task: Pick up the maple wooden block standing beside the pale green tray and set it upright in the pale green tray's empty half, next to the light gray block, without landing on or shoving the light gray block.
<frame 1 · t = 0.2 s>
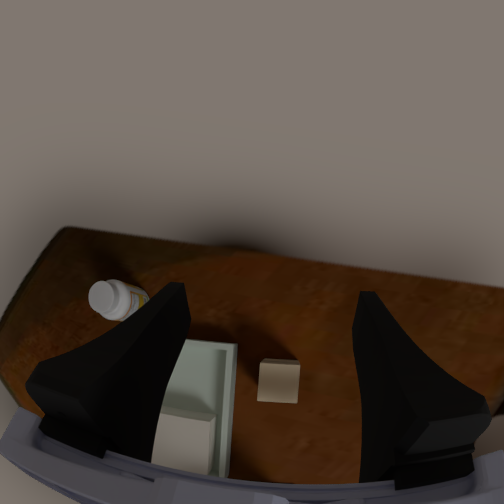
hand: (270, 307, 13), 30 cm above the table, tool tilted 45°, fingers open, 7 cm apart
light gray block: (181, 434, 39), point 1 cm above the table, touching pale green tray
supplement bottle: (135, 305, 45), on the table
maple block: (280, 375, 40), on the table
pale green tray: (184, 406, 41), on the table
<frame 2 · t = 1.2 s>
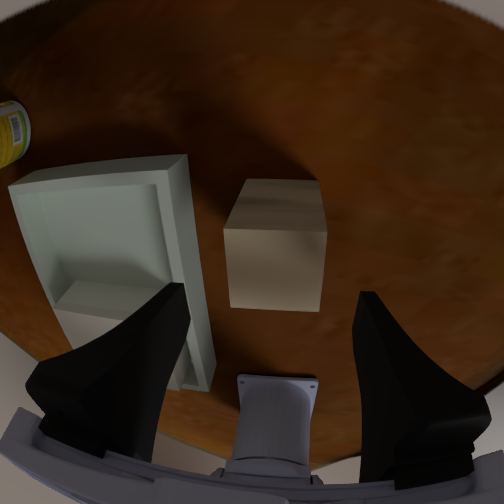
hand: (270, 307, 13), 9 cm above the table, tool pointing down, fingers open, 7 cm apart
light gray block: (132, 320, 27), point 1 cm above the table, touching pale green tray
supplement bottle: (14, 129, 20), on the table
maple block: (282, 211, 21), on the table
pale green tray: (125, 276, 26), on the table
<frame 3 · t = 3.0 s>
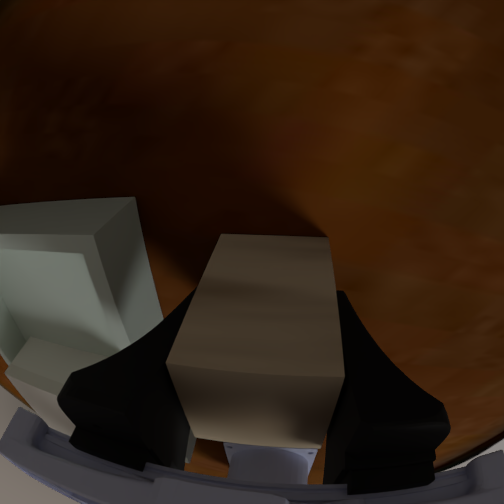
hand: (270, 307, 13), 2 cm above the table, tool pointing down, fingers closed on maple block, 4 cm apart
light gray block: (97, 384, 21), point 1 cm above the table, touching pale green tray
maple block: (274, 279, 14), on the table, touching gripper
pale green tray: (82, 337, 19), on the table
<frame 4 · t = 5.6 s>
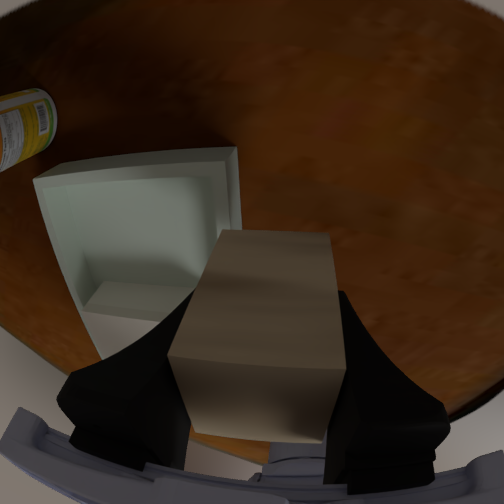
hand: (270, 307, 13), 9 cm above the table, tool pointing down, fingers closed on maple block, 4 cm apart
light gray block: (165, 322, 26), point 1 cm above the table, touching pale green tray
supplement bottle: (37, 119, 19), on the table
maple block: (274, 275, 15), point 7 cm above the table, touching gripper
pale green tray: (159, 275, 25), on the table
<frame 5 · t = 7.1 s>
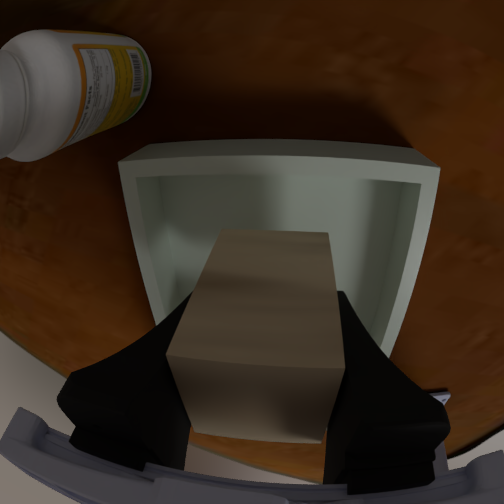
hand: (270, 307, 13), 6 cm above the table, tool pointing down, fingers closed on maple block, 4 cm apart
supplement bottle: (112, 79, 14), on the table
maple block: (274, 274, 14), point 4 cm above the table, touching gripper
pale green tray: (278, 298, 20), on the table
when the fingers open (4 cm above the table, at t = 8.4 s): maple block drops 1 cm, resting on pale green tray.
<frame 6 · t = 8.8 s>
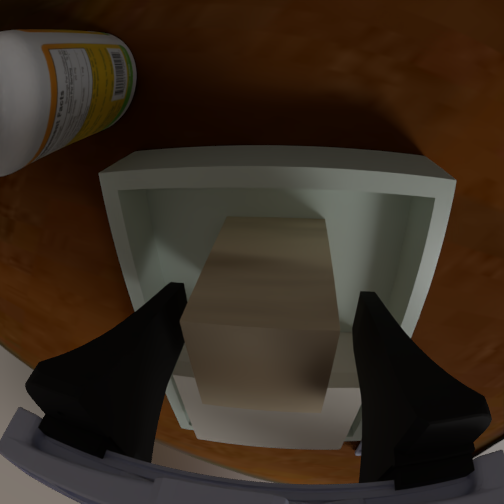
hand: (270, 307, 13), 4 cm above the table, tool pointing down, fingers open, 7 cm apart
light gray block: (274, 371, 20), point 1 cm above the table, touching pale green tray
supplement bottle: (96, 81, 13), on the table
maple block: (275, 259, 16), point 1 cm above the table, touching pale green tray
pale green tray: (276, 315, 19), on the table
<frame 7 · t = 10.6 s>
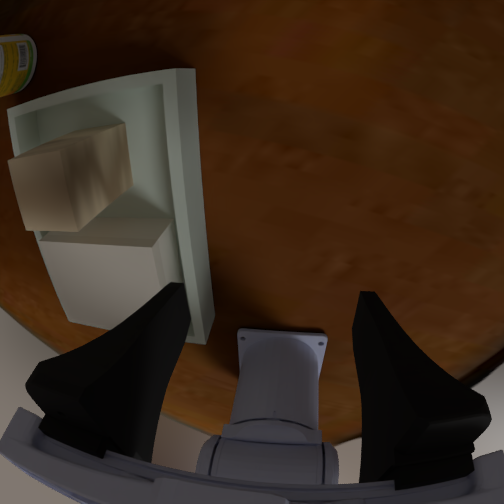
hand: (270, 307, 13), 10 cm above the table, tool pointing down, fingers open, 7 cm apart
light gray block: (124, 261, 25), point 1 cm above the table, touching pale green tray
supplement bottle: (20, 62, 17), on the table
maple block: (102, 156, 20), point 1 cm above the table, touching pale green tray
pale green tray: (119, 209, 23), on the table
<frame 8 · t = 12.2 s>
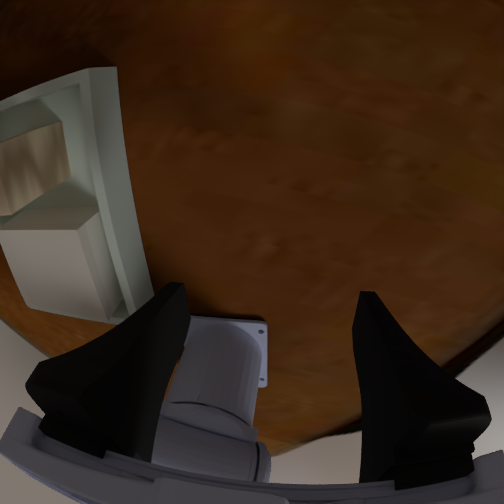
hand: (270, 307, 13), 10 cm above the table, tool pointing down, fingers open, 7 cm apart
light gray block: (71, 249, 25), point 1 cm above the table, touching pale green tray
maple block: (46, 152, 20), point 1 cm above the table, touching pale green tray
pale green tray: (65, 200, 24), on the table
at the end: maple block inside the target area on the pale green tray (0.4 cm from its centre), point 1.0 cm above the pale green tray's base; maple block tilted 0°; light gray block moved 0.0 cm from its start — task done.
